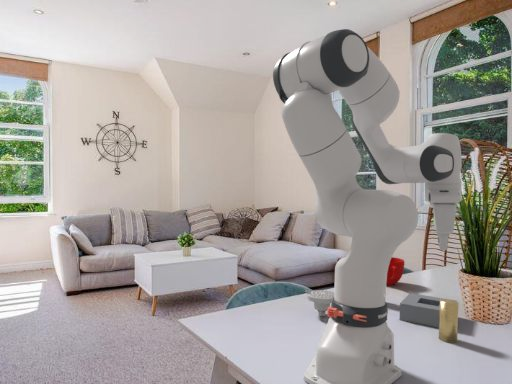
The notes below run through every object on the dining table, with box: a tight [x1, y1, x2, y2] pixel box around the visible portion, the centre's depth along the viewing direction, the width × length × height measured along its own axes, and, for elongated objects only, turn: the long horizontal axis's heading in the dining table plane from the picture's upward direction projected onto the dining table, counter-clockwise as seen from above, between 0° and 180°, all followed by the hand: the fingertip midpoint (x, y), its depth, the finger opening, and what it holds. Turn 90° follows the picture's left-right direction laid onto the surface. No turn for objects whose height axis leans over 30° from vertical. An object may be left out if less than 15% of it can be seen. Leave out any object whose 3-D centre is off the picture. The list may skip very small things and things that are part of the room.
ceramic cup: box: [386, 256, 405, 286], centre depth 159 cm, size 13×17×10 cm
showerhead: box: [305, 289, 334, 317], centre depth 119 cm, size 9×7×10 cm
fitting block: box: [399, 292, 457, 329], centre depth 118 cm, size 14×14×5 cm
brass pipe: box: [438, 298, 460, 344], centre depth 102 cm, size 4×4×10 cm
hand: (442, 246), depth 104 cm, fingers open, 8 cm apart
